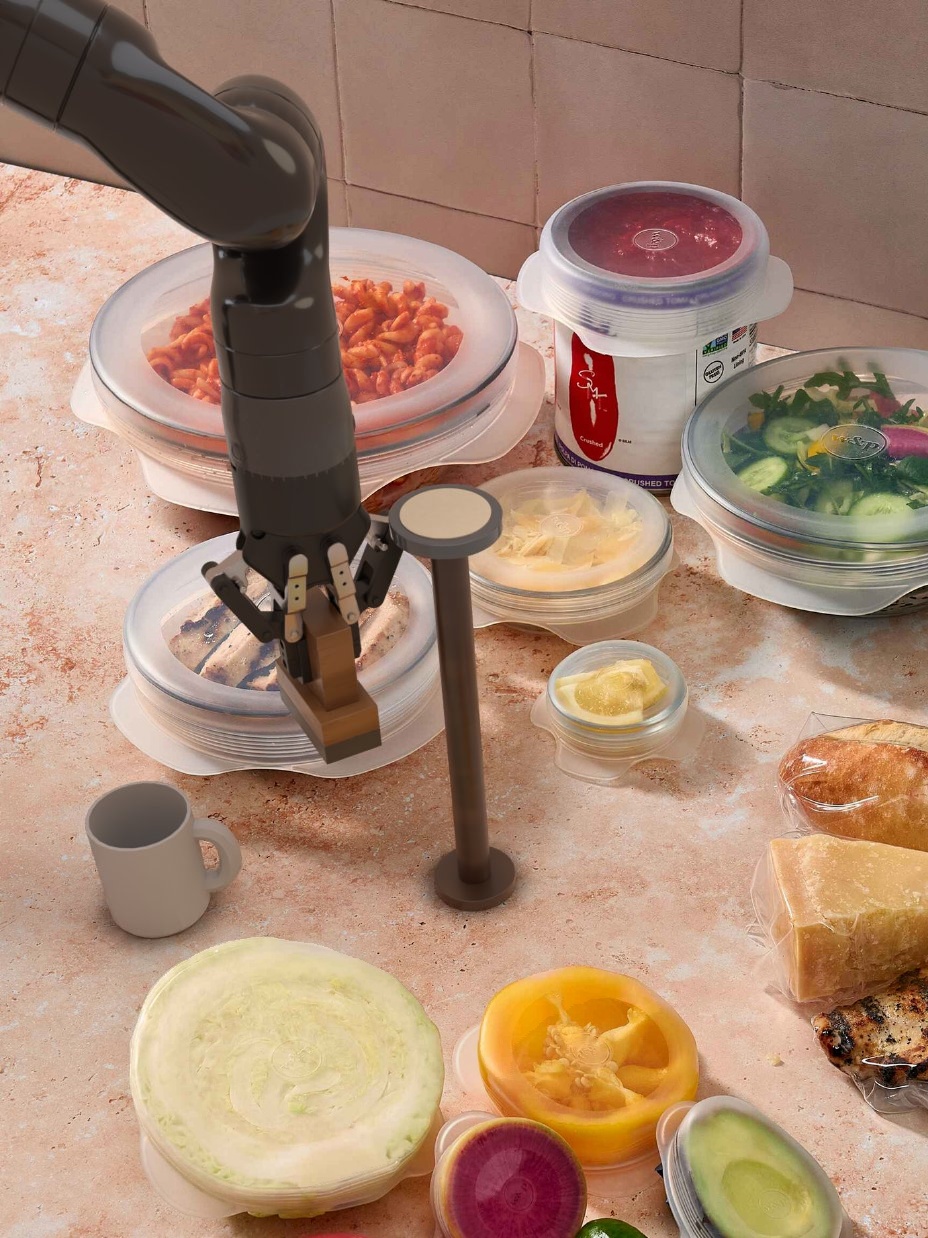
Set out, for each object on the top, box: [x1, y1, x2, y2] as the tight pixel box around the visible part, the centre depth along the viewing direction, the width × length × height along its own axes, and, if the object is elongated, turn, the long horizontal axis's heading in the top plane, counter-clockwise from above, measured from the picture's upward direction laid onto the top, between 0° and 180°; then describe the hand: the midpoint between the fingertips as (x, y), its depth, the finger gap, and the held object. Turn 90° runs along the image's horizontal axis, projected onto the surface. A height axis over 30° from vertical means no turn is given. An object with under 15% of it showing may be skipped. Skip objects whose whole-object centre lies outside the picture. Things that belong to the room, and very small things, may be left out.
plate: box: [388, 483, 504, 560], centre depth 102 cm, size 7×7×1 cm
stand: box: [429, 556, 517, 912], centre depth 113 cm, size 6×6×31 cm
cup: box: [84, 780, 243, 939], centre depth 119 cm, size 7×10×9 cm
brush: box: [274, 585, 383, 766], centre depth 111 cm, size 8×4×10 cm, turn 31°
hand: (323, 668), depth 111 cm, fingers closed on brush, 2 cm apart
